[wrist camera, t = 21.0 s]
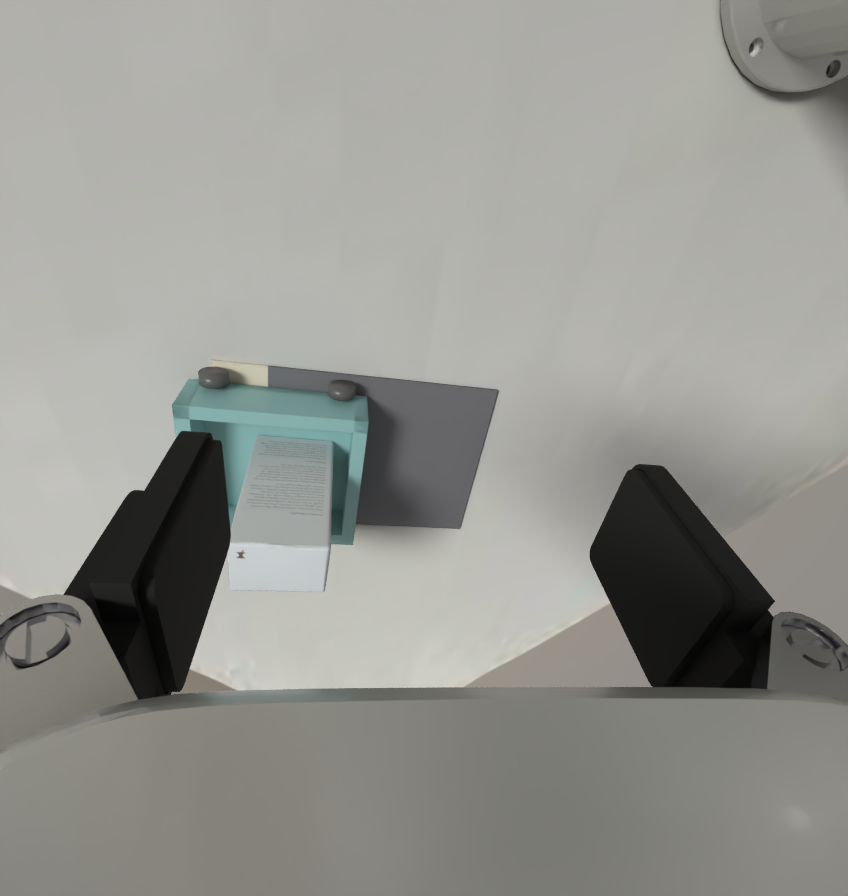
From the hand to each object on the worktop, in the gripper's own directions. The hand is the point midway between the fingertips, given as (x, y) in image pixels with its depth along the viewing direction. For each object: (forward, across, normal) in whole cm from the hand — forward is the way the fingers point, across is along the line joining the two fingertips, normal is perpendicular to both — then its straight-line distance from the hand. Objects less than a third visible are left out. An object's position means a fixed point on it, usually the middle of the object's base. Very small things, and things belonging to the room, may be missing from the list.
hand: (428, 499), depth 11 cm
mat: (+26, +1, +17) cm, 31 cm away
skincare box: (+24, +6, +17) cm, 30 cm away
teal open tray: (+25, +7, +17) cm, 31 cm away
